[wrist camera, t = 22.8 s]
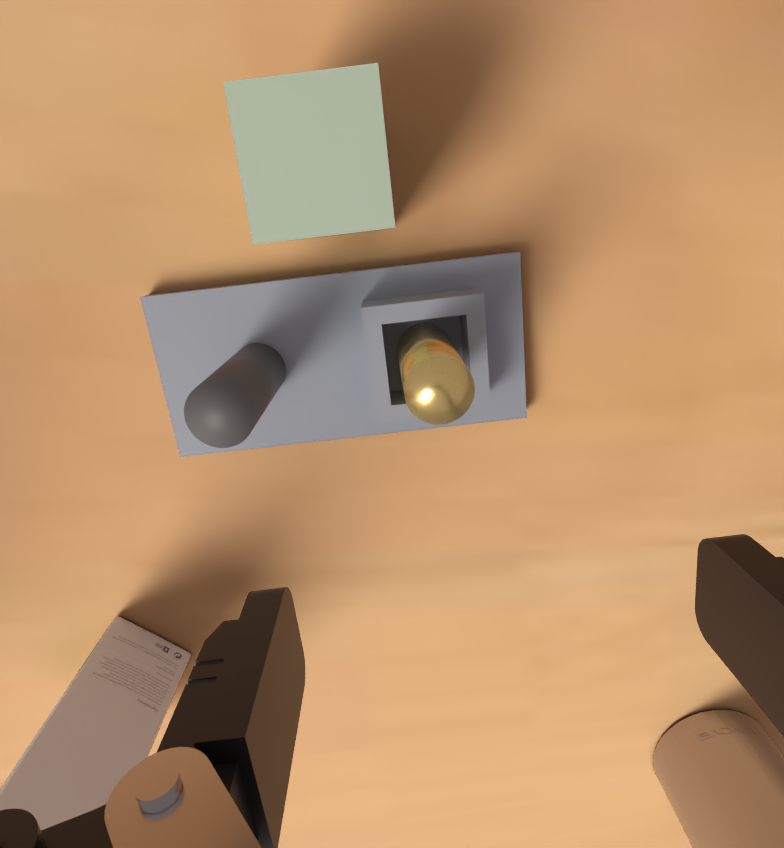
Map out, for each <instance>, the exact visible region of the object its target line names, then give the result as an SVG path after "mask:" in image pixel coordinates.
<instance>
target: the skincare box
mask: <svg viewBox="0 0 784 848" xmlns="http://www.w3.org/2000/svg"><path fill="white" fill-rule="evenodd" d="M190 657H191V654H190V653H189V652H187V651H185V650H184V649H182V648H180V647H178V646H176V645H174V644H172V643H170V642H168V641H166V640H165V639H163V638H161V637H159V636H157V635H155V634H153V633H151V632H149V631H147V630H145V629H143V628H141V627H139V626H137V625H135V624H133V623H131V622H129V621H127V620H125V619H123V618H121V617H115V619H114V620H113V621H112V623H111V624H110V626H109V627H108V629H107V630H106V632H105V633H104V635H103V636H102V638H101V639H100V641H99V642H98V643H97V645H96V646H95V648H94V649H93V651H92V652H91V654H90V655H89V657H88V658H87V660H86V661H85V663H84V664H83V666H82V667H81V669H80V670H79V671H78V673H77V674H76V676H75V677H74V679H73V680H72V682H71V683H70V685H69V686H68V688H67V689H66V691H65V692H64V694H63V695H62V697H61V698H60V700H59V701H58V703H57V704H56V706H55V707H54V709H53V710H52V712H51V713H50V715H49V716H48V718H47V719H46V721H45V722H44V724H43V725H42V727H41V728H40V730H39V731H38V733H37V734H36V736H35V737H34V739H33V740H32V742H31V743H30V745H29V746H28V748H27V749H26V751H25V752H24V754H23V755H22V757H21V758H20V760H19V761H18V763H17V764H16V766H15V767H14V769H13V770H12V772H11V773H10V775H9V776H8V778H7V779H6V781H5V782H4V784H3V785H2V787H1V788H0V811H1V810H5V809H14V808H15V809H23V810H26V811H29V812H30V813H31V814H33V815H34V817H35V819H36V820H37V822H38V825H39V827H40V829H41V830H44V829H46V828H49V827H51V826H54V825H56V824H59V823H61V822H64V821H67V820H69V819H72V818H74V817H77V816H79V815H82V814H84V813H87V812H89V811H92V810H94V809H96V808H99V807H101V806H103V805H105V804H106V803H107V801H108V799H109V796H110V794H111V792H112V791H113V789H114V788H115V786H116V785H117V783H118V782H119V781H120V780H121V778H122V777H123V776H124V775H125V774H126V773H127V772H128V771H129V770H130V769H132V768H133V767H134V766H135V765H136V764H138V763H139V762H141V761H142V760H144V759H145V758H147V757H148V755H149V752H150V750H151V748H152V745H153V743H154V741H155V738H156V736H157V734H158V731H159V729H160V727H161V724H162V722H163V719H164V717H165V715H166V712H167V710H168V708H169V705H170V703H171V700H172V698H173V696H174V693H175V691H176V689H177V686H178V684H179V682H180V679H181V677H182V675H183V672H184V670H185V668H186V666H187V663H188V661H189V659H190Z"/></svg>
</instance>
